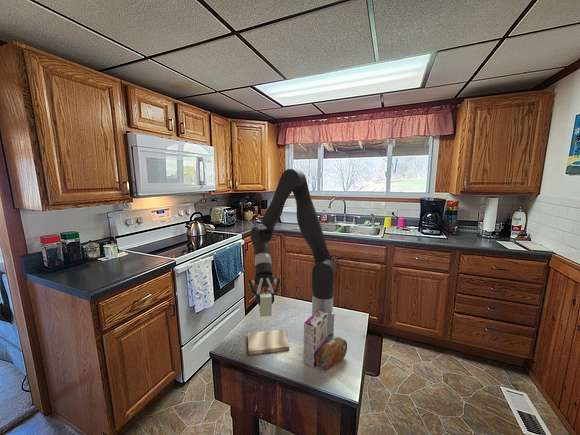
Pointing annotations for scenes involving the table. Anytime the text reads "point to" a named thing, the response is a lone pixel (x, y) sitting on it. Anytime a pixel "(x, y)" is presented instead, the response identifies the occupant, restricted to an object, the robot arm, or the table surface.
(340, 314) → the table surface
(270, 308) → the sage block
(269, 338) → the birch board
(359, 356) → the table surface
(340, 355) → the tin
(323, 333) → the candy bar box
